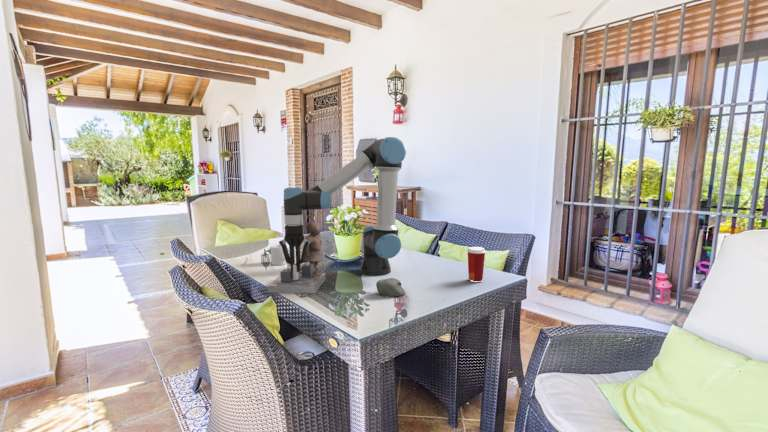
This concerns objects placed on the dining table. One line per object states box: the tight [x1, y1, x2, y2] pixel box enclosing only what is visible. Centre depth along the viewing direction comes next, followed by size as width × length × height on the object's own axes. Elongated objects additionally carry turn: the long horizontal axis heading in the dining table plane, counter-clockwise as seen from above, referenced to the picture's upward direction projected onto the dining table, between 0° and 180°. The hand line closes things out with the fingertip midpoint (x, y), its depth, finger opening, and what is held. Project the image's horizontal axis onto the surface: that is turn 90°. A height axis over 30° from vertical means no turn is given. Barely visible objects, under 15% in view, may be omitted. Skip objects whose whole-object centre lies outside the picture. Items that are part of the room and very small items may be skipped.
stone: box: [375, 277, 406, 298], centre depth 156 cm, size 9×9×10 cm
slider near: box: [280, 266, 294, 282], centre depth 163 cm, size 4×5×6 cm
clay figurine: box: [303, 220, 325, 271], centre depth 192 cm, size 13×10×25 cm
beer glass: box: [466, 246, 487, 281], centre depth 172 cm, size 8×8×15 cm
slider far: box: [301, 262, 314, 276], centre depth 172 cm, size 4×5×6 cm
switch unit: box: [267, 270, 327, 294], centre depth 168 cm, size 20×20×4 cm
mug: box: [270, 244, 290, 266], centre depth 206 cm, size 8×12×10 cm
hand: (296, 279), depth 162 cm, fingers closed
